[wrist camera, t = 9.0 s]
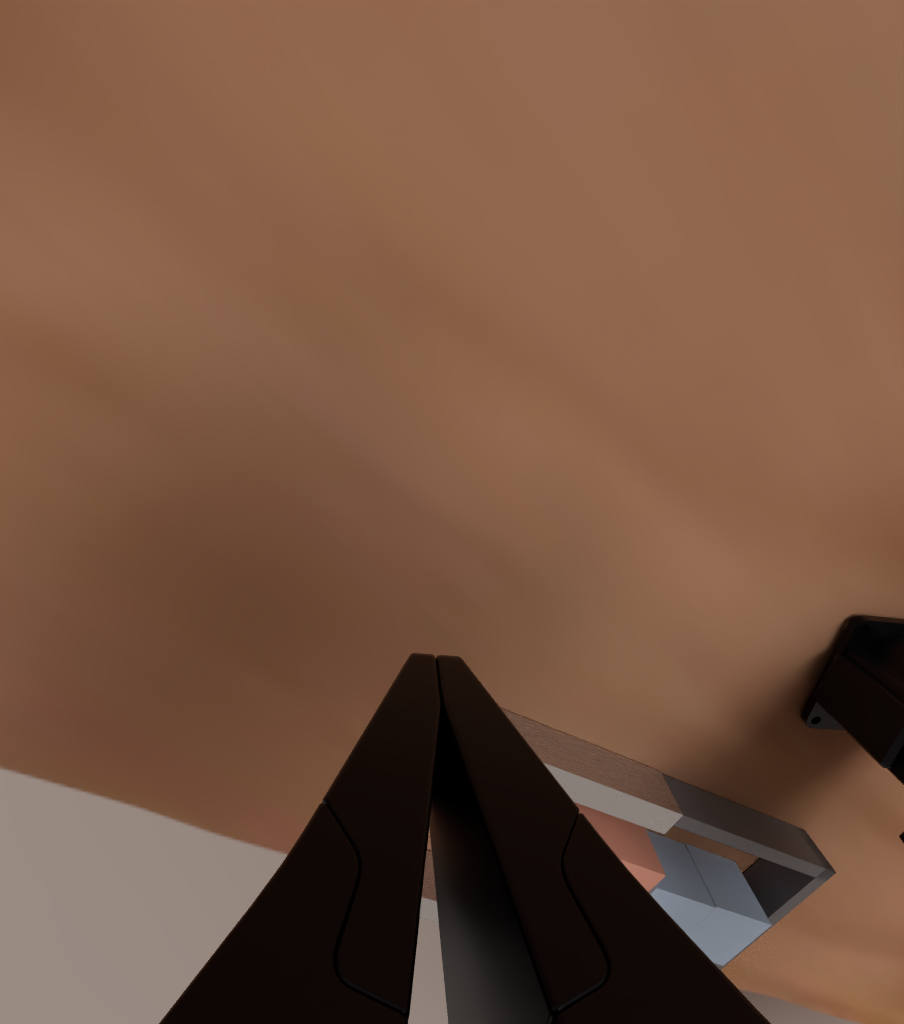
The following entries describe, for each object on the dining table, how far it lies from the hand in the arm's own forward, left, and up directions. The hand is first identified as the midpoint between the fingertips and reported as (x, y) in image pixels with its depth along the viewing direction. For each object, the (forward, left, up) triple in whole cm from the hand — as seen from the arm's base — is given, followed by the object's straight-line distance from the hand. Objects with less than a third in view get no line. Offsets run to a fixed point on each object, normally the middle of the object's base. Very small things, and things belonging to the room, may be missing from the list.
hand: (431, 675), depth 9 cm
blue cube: (-15, +22, -12) cm, 30 cm away
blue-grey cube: (-19, +24, -12) cm, 33 cm away
